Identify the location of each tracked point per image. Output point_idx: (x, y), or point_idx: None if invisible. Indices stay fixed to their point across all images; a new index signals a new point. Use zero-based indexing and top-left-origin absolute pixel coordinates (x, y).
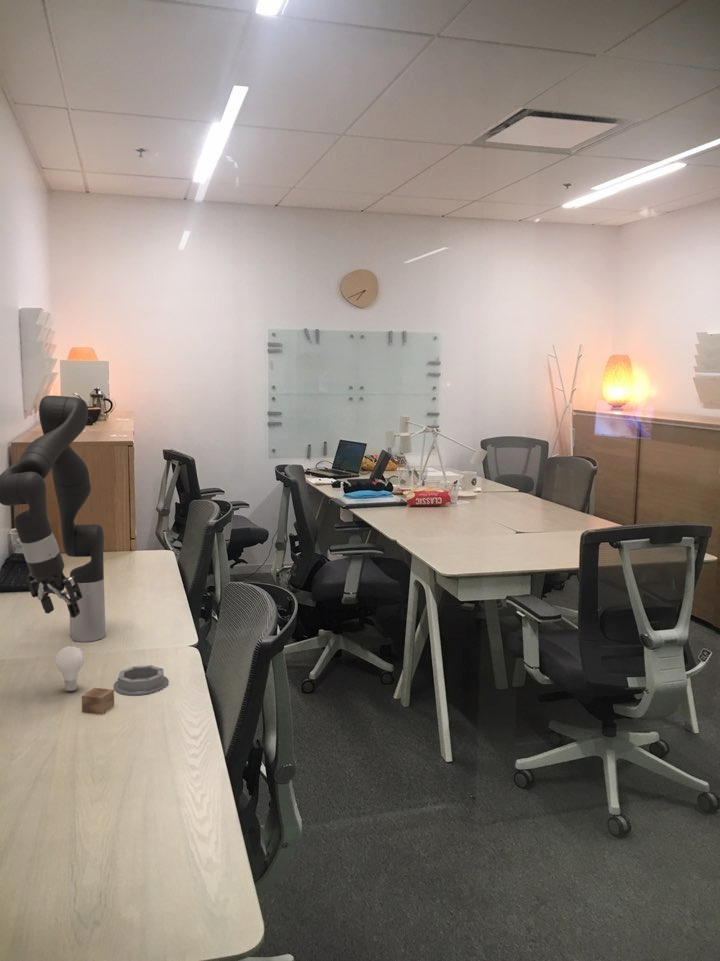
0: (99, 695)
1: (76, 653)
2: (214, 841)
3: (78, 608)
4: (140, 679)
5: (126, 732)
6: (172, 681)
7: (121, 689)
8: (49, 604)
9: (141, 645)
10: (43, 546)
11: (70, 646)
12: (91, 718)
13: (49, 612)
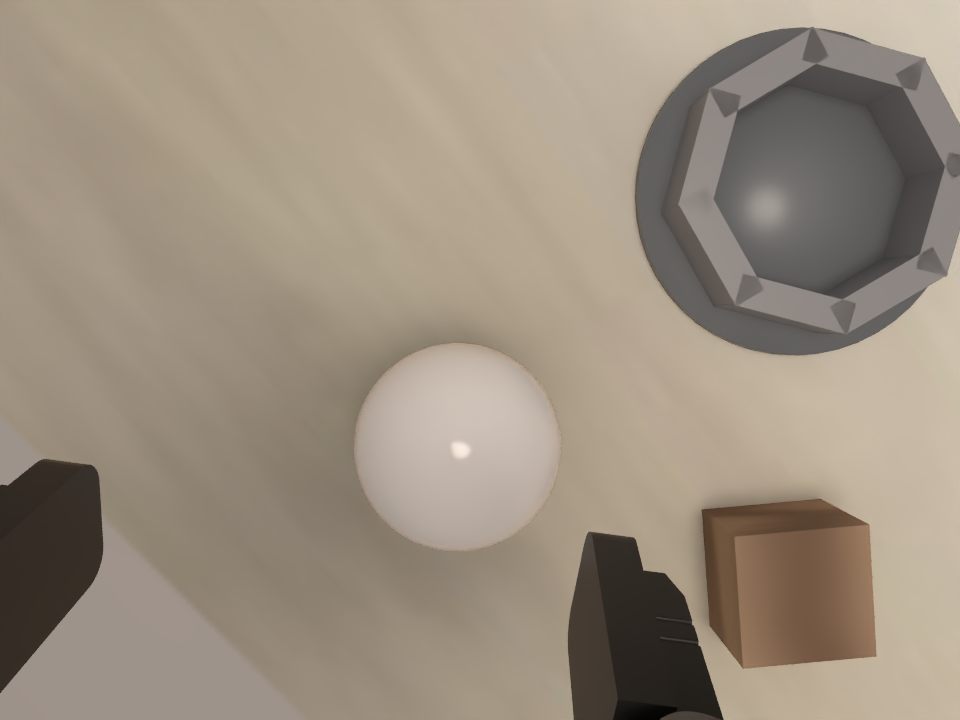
0: (840, 626)
1: (543, 476)
2: None
3: (692, 639)
4: (884, 274)
5: None
6: (937, 76)
7: (743, 317)
8: (26, 569)
9: None
10: None
11: (460, 455)
12: (803, 669)
13: (100, 542)
